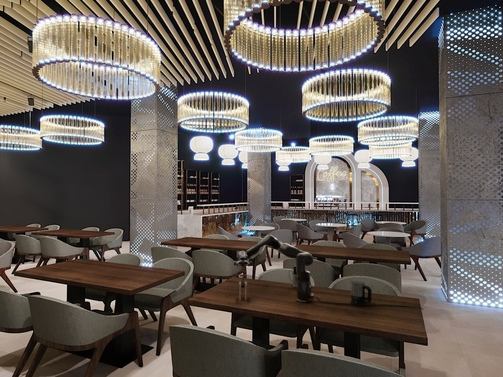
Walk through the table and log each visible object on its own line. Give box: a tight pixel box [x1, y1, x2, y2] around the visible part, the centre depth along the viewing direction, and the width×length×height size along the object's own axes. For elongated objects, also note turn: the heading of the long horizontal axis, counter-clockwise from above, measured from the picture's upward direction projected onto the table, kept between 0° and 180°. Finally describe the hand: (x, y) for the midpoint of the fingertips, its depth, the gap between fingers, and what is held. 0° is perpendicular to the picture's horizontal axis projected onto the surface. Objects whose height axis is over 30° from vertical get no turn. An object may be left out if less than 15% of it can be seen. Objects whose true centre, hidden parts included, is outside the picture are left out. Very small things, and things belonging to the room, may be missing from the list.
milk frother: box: [350, 280, 373, 307], centre depth 228 cm, size 14×16×15 cm
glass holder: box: [288, 266, 297, 288], centre depth 269 cm, size 9×14×15 cm, turn 124°
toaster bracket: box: [238, 281, 248, 301], centre depth 231 cm, size 10×8×13 cm
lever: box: [239, 274, 247, 289], centre depth 235 cm, size 12×5×2 cm, turn 1°
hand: (243, 265), depth 251 cm, fingers open, 8 cm apart
